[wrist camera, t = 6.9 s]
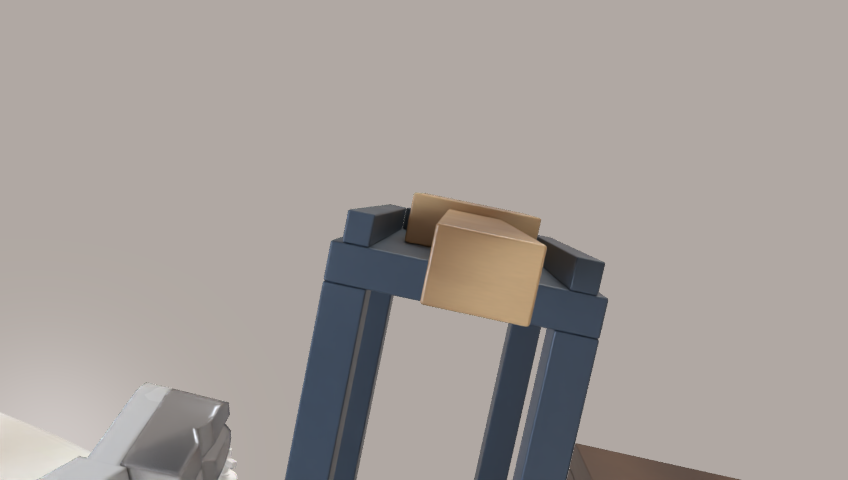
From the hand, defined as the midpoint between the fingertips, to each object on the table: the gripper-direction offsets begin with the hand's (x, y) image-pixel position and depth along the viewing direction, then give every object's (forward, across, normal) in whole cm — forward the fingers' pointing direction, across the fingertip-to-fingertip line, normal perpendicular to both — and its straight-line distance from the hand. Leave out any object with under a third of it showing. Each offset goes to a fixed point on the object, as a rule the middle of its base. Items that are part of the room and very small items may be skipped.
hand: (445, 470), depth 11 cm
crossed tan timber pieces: (+12, 0, +4) cm, 13 cm away
